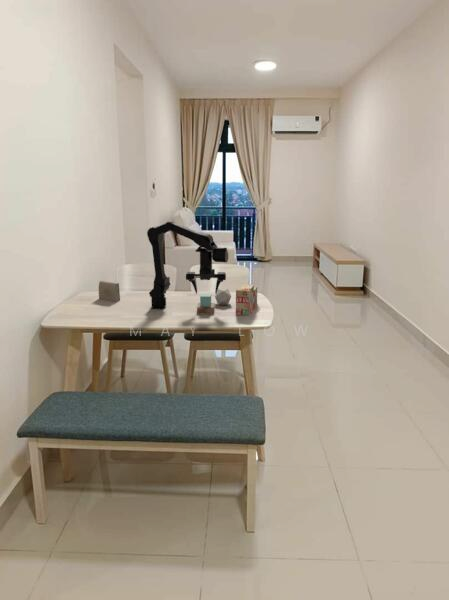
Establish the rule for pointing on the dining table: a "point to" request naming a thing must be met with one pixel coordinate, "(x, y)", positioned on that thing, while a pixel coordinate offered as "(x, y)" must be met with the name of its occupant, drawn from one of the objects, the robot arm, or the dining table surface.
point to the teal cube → (205, 300)
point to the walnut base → (206, 309)
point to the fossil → (109, 291)
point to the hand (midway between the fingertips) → (206, 293)
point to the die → (223, 296)
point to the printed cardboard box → (246, 299)
